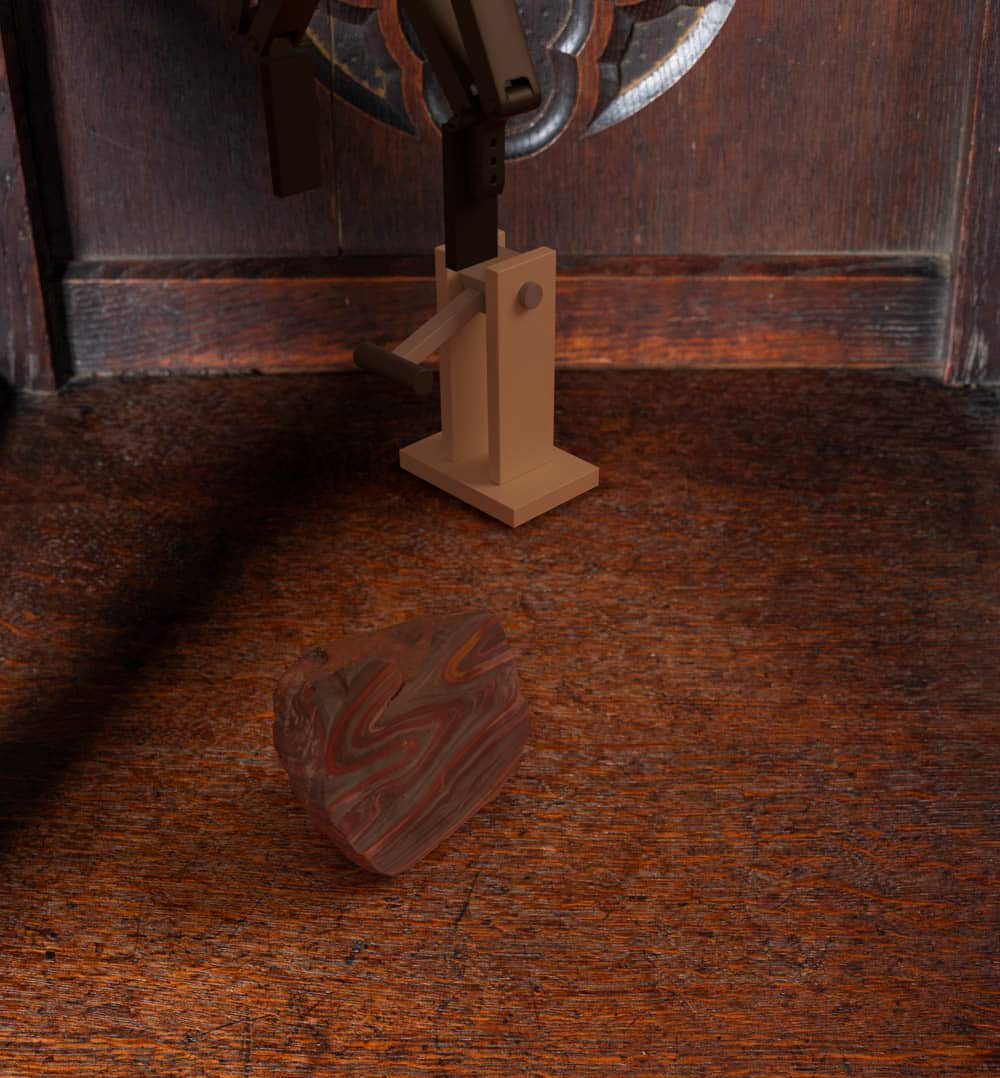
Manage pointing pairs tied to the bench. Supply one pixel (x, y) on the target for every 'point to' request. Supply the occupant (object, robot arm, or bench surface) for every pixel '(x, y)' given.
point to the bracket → (501, 397)
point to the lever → (429, 334)
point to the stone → (401, 733)
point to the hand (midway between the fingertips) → (380, 225)
